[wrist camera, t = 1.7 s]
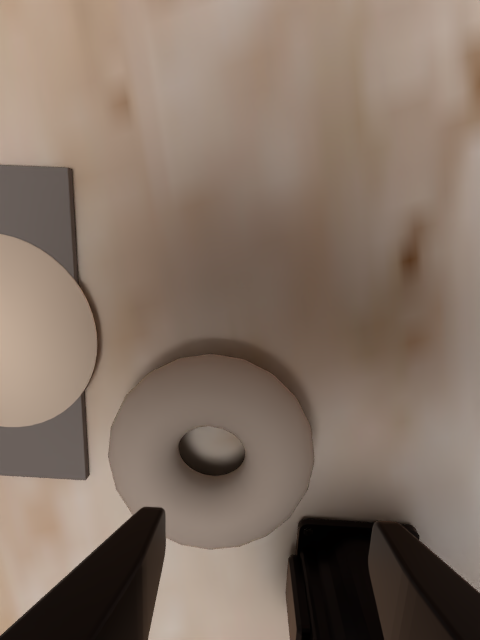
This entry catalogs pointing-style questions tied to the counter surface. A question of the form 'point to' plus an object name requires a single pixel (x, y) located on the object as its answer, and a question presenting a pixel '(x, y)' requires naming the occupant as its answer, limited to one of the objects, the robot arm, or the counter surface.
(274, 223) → the counter surface
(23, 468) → the kitchen scale
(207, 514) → the donut
